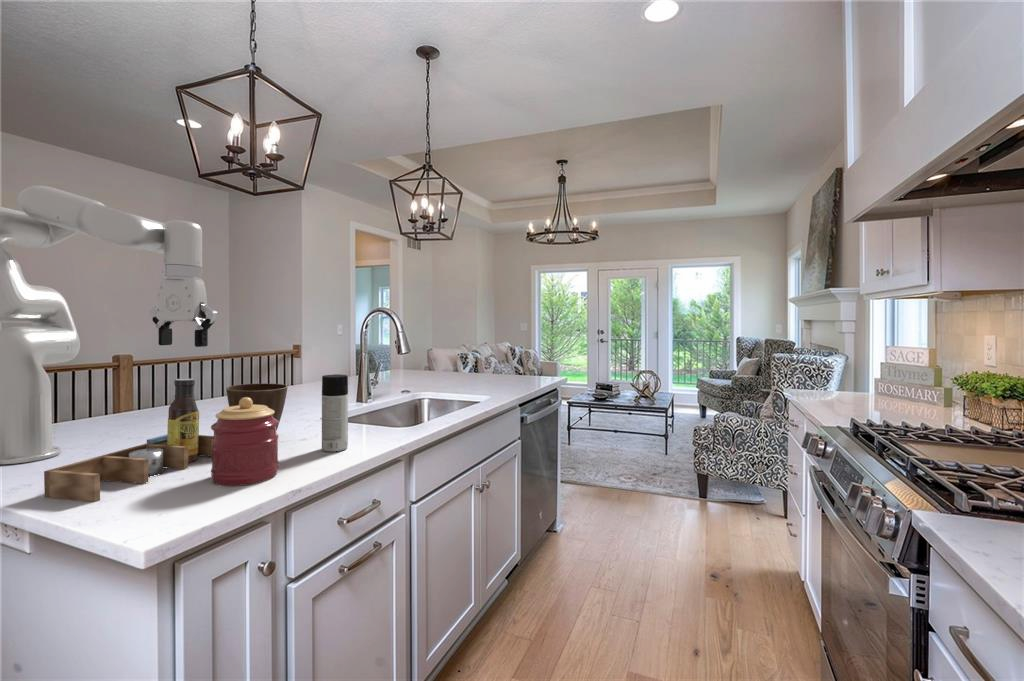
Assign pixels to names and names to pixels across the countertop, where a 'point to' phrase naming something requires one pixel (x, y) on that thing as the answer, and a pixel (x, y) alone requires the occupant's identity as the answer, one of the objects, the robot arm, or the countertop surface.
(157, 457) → the tin
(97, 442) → the countertop surface
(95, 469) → the caddy
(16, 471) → the countertop surface
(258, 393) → the plant pot
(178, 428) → the sauce bottle
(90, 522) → the countertop surface
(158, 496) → the countertop surface
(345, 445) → the spray can
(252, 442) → the canister
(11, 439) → the robot arm
